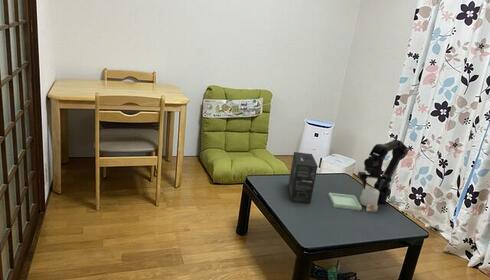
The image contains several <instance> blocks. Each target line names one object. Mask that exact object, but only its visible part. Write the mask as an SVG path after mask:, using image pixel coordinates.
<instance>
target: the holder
mask: <svg viewBox="0 0 490 280" xmlns="http://www.w3.org/2000/svg"><path fill="white" fill-rule="evenodd" d="M360 200H361V195H360V197H359V200H358V202H360ZM378 207H379V206H378V205H377V206H375V205H367V206H366V208H365V210H366V212H375V213H376V212H378Z"/></svg>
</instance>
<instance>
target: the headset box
mask: <svg viewBox="0 0 490 280" xmlns="http://www.w3.org/2000/svg"><path fill="white" fill-rule="evenodd" d="M290 168H291V169H290V173H289V179H288V190H289V191H288V192H289V196H290V201H291V202H295V203H305V204H311V201H312V198H313V192H314V186H315V182H316V177H317V172H318V168H319V166H318V163H317V161H316V160H315V157H314V155H313V154H312V153H305V152H297V151H294V152H293V156H292V163H291V167H290Z"/></svg>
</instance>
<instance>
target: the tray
mask: <svg viewBox="0 0 490 280" xmlns="http://www.w3.org/2000/svg"><path fill="white" fill-rule="evenodd" d="M328 198H329V201H330V202H331V204H332V207H333V208H336V209H342V210H351V211H362V208H363V207H362V204H360V201H359V200H358V198H357V197H356V196H355V195H352V194H343V193H335V192H328Z"/></svg>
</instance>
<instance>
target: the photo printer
mask: <svg viewBox="0 0 490 280" xmlns="http://www.w3.org/2000/svg"><path fill="white" fill-rule="evenodd" d="M360 196H361V200H360V199H359V200H360V201H359V203H360V205H361V206H362V205H363V206H364V207H367V205H375V206H378V204H377V202H378V198H379V191H378V190H377V189H375V188H374V186H370V185H366V186H365V190H364V189H363V188H362V192H361V195H360Z"/></svg>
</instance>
